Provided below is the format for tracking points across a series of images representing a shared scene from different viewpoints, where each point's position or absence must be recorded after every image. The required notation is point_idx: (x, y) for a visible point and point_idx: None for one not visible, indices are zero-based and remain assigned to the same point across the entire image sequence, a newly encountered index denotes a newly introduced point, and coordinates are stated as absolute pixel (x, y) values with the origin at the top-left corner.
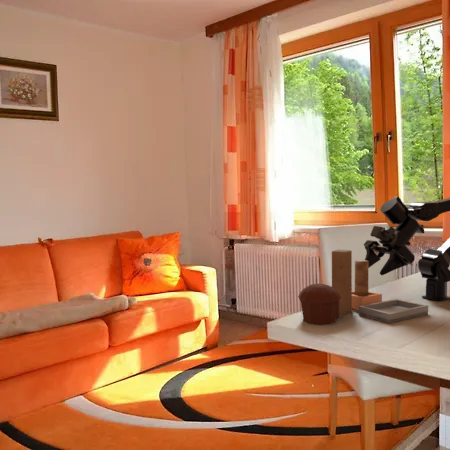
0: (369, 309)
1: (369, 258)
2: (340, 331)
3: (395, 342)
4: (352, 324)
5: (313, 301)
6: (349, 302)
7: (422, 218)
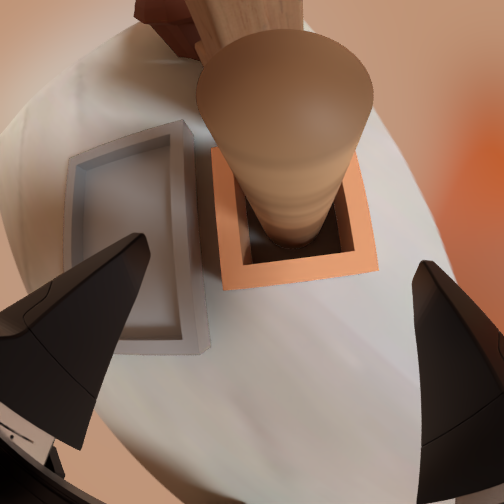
0: (135, 133)
1: (470, 377)
2: (123, 49)
3: (35, 115)
4: (137, 81)
5: None
6: None
7: None
